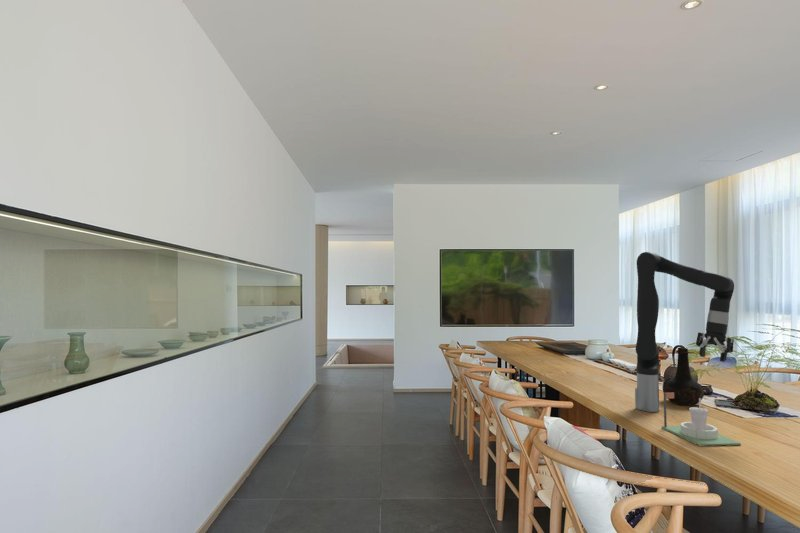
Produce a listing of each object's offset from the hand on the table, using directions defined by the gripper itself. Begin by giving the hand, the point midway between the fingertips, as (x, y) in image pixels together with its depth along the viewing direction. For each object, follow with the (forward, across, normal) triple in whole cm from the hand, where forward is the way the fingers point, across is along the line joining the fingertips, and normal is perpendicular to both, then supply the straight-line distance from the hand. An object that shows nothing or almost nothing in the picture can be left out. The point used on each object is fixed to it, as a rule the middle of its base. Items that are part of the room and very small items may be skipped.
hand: (712, 359), depth 199 cm
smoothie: (+28, +11, -19) cm, 36 cm away
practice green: (+29, +11, -19) cm, 36 cm away
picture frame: (+25, -13, +45) cm, 53 cm away
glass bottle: (+28, -26, +24) cm, 45 cm away
